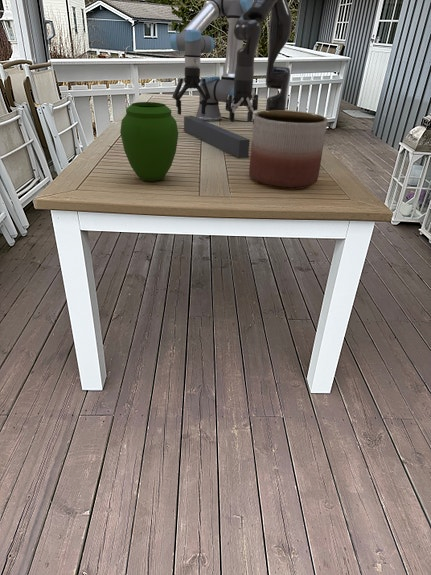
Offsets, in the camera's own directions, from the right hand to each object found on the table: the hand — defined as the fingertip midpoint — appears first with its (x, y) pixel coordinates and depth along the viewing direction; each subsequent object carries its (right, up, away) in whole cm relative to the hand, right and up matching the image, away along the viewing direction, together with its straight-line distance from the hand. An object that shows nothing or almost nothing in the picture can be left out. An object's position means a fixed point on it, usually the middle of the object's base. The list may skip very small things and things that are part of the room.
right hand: (240, 121), depth 172 cm
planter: (+14, -30, -20) cm, 39 cm away
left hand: (-23, +19, +37) cm, 48 cm away
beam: (-12, 0, +25) cm, 28 cm away
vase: (-34, -31, -26) cm, 53 cm away
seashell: (+14, +19, +58) cm, 62 cm away
